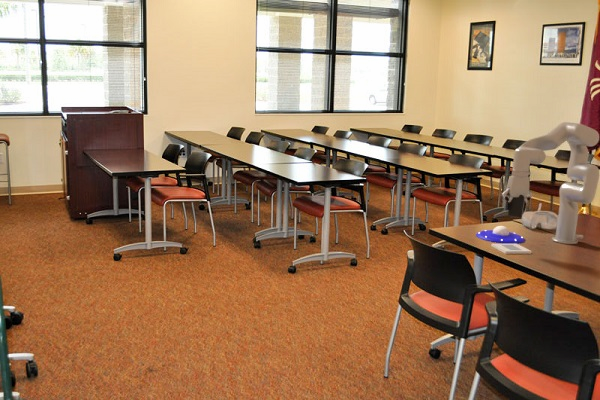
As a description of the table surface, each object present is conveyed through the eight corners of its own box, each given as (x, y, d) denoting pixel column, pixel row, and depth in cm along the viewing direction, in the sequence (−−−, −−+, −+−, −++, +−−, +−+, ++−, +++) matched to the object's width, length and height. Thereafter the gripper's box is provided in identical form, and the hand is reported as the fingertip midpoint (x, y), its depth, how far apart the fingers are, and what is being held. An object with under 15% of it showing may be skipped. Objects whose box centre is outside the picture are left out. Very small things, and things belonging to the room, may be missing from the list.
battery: (522, 216, 318) (525, 193, 316) (521, 218, 314) (524, 195, 312) (508, 214, 321) (511, 192, 319) (507, 216, 317) (509, 193, 315)
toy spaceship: (476, 241, 335) (477, 228, 334) (475, 230, 359) (476, 218, 358) (527, 247, 330) (528, 233, 328) (522, 235, 354) (524, 223, 352)
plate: (516, 245, 329) (516, 243, 329) (531, 253, 316) (531, 251, 316) (491, 245, 326) (491, 243, 326) (505, 253, 313) (505, 251, 312)
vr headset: (528, 230, 365) (531, 205, 362) (519, 226, 376) (521, 201, 373) (558, 231, 368) (561, 206, 365) (548, 226, 379) (551, 202, 376)
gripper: (531, 173, 319) (527, 208, 322) (499, 172, 315) (495, 208, 319) (540, 175, 312) (535, 211, 315) (507, 174, 308) (503, 211, 311)
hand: (515, 209), depth 317 cm, fingers closed on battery, 7 cm apart
